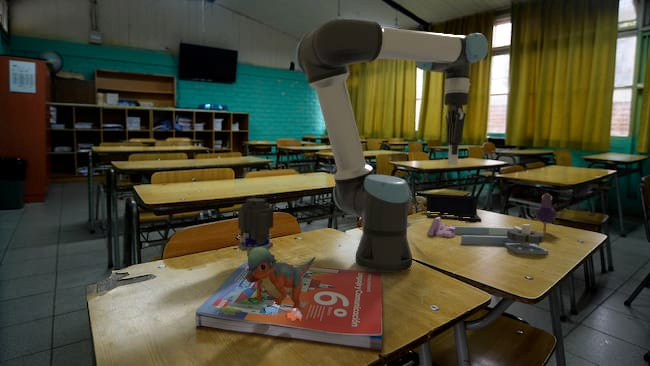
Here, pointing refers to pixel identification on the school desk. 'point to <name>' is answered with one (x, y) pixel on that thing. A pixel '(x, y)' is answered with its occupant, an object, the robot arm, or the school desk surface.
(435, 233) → the letters
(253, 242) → the toy
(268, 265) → the toy
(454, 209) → the black laptop
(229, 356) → the school desk surface
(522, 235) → the wheel
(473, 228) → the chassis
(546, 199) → the toy
